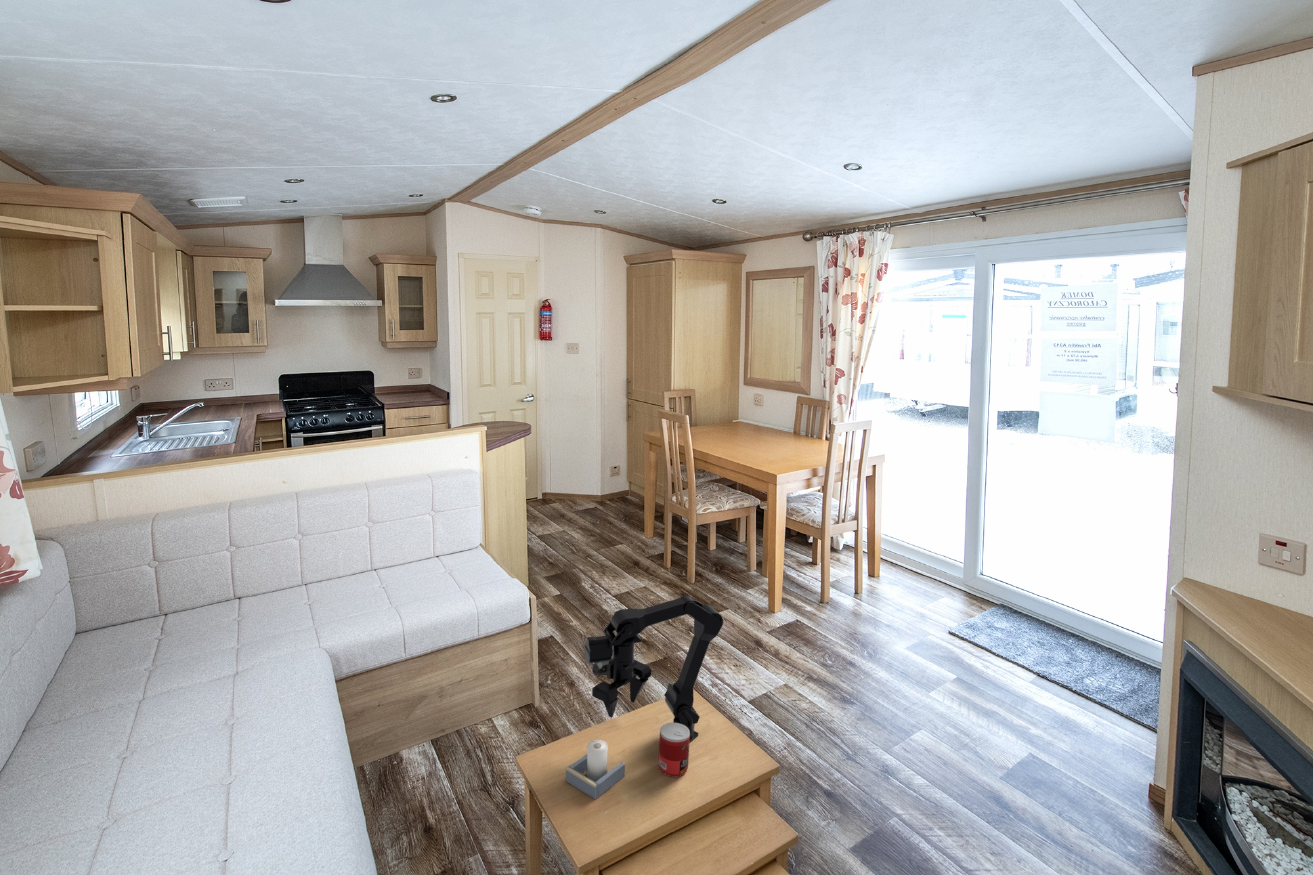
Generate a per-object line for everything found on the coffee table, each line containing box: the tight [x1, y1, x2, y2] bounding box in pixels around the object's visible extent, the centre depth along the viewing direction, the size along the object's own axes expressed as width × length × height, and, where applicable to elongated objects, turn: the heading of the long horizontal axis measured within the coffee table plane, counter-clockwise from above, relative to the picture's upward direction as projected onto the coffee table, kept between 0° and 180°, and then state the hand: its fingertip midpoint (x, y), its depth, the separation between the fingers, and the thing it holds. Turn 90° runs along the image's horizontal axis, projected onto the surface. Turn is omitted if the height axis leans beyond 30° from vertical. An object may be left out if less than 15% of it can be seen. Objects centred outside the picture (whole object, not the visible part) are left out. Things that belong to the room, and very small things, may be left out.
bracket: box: [564, 753, 626, 800], centre depth 176 cm, size 12×10×4 cm
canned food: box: [658, 722, 691, 777], centre depth 181 cm, size 8×8×11 cm
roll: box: [586, 739, 608, 782], centre depth 176 cm, size 5×5×9 cm
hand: (621, 709), depth 187 cm, fingers open, 9 cm apart
